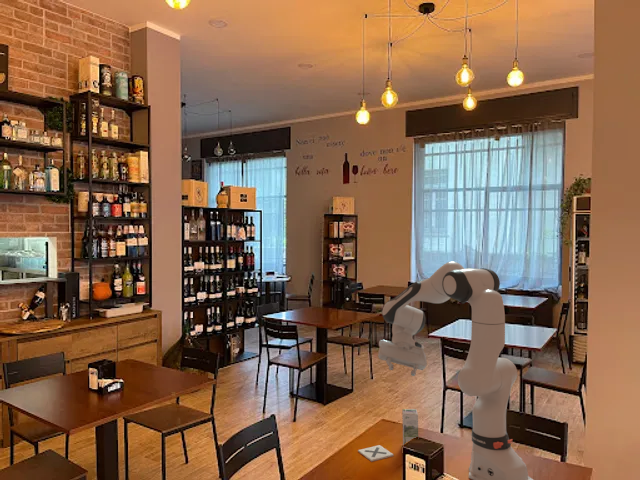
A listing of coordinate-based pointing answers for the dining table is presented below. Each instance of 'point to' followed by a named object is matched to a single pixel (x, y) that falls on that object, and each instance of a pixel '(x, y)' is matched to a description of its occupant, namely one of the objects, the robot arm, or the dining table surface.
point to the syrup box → (409, 424)
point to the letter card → (375, 453)
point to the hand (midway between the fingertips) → (402, 372)
